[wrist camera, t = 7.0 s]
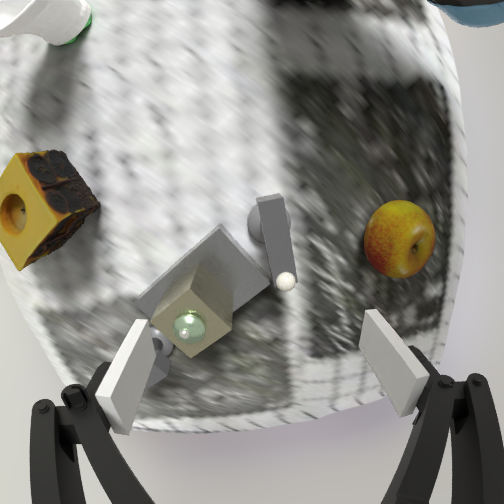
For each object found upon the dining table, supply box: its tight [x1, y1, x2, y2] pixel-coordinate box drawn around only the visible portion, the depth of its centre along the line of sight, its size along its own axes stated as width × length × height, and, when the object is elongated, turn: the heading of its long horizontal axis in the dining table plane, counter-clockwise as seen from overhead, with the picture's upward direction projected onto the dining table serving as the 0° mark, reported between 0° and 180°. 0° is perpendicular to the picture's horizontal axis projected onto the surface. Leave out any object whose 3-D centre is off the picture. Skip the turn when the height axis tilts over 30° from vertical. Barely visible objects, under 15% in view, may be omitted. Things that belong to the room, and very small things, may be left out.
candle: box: [0, 150, 100, 271], centre depth 28 cm, size 10×10×10 cm
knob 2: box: [248, 194, 298, 291], centre depth 29 cm, size 8×5×10 cm, turn 12°
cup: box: [0, 0, 91, 45], centre depth 17 cm, size 11×11×14 cm
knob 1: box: [144, 326, 174, 391], centre depth 34 cm, size 8×5×10 cm, turn 130°
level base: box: [134, 224, 270, 358], centre depth 32 cm, size 15×9×11 cm, turn 130°
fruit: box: [364, 200, 436, 278], centre depth 32 cm, size 10×9×8 cm
